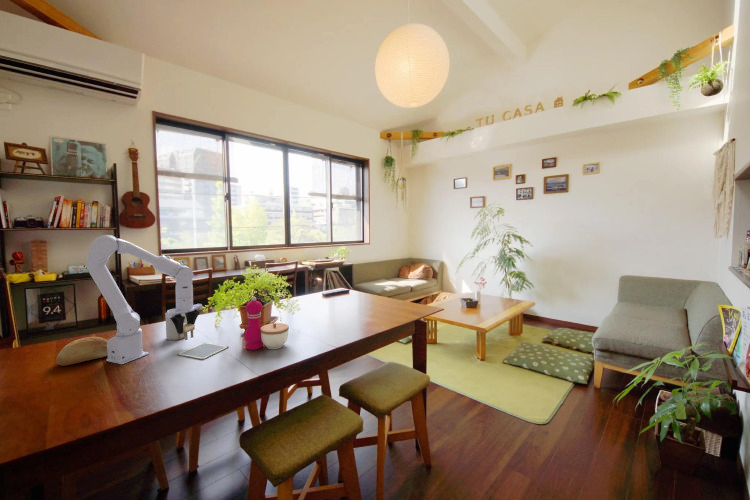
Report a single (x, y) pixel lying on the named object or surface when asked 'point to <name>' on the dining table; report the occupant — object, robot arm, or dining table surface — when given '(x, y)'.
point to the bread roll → (82, 350)
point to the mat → (203, 351)
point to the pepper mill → (253, 325)
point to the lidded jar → (274, 335)
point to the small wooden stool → (187, 330)
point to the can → (173, 328)
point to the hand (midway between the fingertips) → (185, 331)
